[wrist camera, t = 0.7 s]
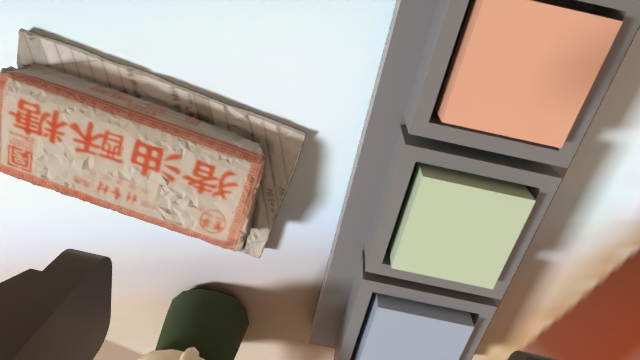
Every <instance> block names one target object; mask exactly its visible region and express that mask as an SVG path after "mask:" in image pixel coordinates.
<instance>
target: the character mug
mask: <svg viewBox="0 0 640 360" xmlns="http://www.w3.org/2000/svg"><path fill="white" fill-rule="evenodd" d="M248 324H249V321H248V317H247V313H246V310H245V309H244V308H243V306H242V305H241V304H240V303H239V302H238V301H237V299H236V298H234V297H231V296H229V295H226V294H223V293H221V292H218V291H212V290H205V289H194V290H188V291H183V292H182V293H181V294H179V295H178V296H177V297H175V298H174V299H173V300H172V303H171V305H170V308H169V310H168V313H167V316H166V318H165V321H164V324H163V327H162V331H161V334H160V337H159V340H158V343H157V346H156V350H155V351H152V352H150V353H148V354H146V355H144V356H142V357H140V358H138V359H137V360H234V358H235V356H236V354H237V351H238V349H239V346H240V344H241V342H242V339H243V337H244V334H245V332H246V329H247V327H248Z"/></svg>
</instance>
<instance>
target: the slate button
mask: <svg viewBox="0 0 640 360" xmlns="http://www.w3.org/2000/svg"><path fill="white" fill-rule="evenodd" d="M473 329H474V324H473V321H472V318H471V315H470V312H467V311H462V310H457V309H452V308H447V307H443V306H438V305H433V304H428V303H423V302H418V301H414V300H409V299H404V298H399V297H394V296H390V295H385V294H380V293H375V292H374V294H373V297H372V300H371V303H370V306H369V309H368V312H367V315H366V318H365V321H364V324H363V327H362V330H361V333H360V336H359V339H358V342H357V345H356V348H355V360H459V358H460V356H461V354H462V352H463V350H464V348H465V346H466V344H467V342H468V339H469V337H470V335H471V333H472V331H473Z"/></svg>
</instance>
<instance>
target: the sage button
mask: <svg viewBox="0 0 640 360" xmlns="http://www.w3.org/2000/svg"><path fill="white" fill-rule="evenodd" d="M535 202H536V200H535V199H534V197H533V196H532V195H531V193H530V192H529V190H528V189H527V188H526V186H525V185H522V184H518V183H513V182H509V181H504V180H499V179H495V178H490V177H485V176H481V175H476V174H472V173H467V172H462V171H458V170H453V169H449V168H444V167H439V166H435V165H430V164H425V163H421V162H417V165H416V168H415V171H414V174H413V177H412V180H411V183H410V186H409V189H408V192H407V195H406V198H405V201H404V204H403V207H402V210H401V213H400V216H399V219H398V222H397V225H396V228H395V231H394V234H393V237H392V240H391V243H390V246H389V252H390V261H391V268H393V269H398V270H402V271H407V272H412V273H417V274H422V275H426V276H431V277H436V278H441V279H445V280H450V281H455V282H460V283H465V284H469V285H474V286H479V287H484V288H488V289H493V288H494V286H495V284H496V282H497V280H498V278H499V276H500V274H501V272H502V270H503V268H504V265H505V263H506V261H507V259H508V257H509V255H510V253H511V251H512V249H513V247H514V245H515V243H516V241H517V239H518V237H519V235H520V233H521V230H522V228H523V226H524V224H525V222H526V220H527V218H528V216H529V214H530V212H531V210H532V208H533V206H534V204H535Z"/></svg>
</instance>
